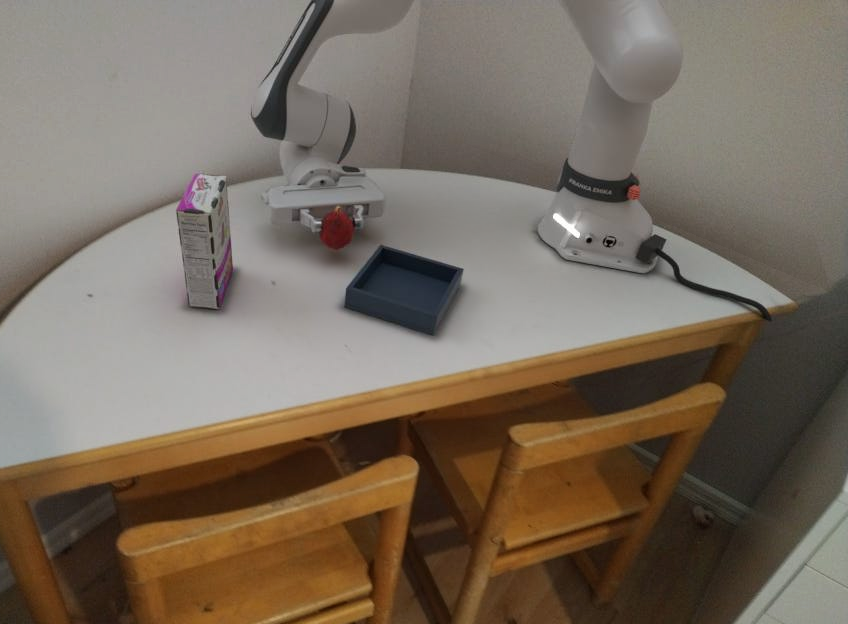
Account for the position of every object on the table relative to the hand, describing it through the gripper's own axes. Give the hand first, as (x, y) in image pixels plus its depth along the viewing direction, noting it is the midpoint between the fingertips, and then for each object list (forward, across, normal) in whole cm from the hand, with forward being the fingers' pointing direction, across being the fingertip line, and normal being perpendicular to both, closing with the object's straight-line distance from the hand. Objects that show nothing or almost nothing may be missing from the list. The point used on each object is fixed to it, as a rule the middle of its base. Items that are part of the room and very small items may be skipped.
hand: (338, 226), depth 104 cm
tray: (+12, +8, +7) cm, 16 cm away
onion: (-1, 0, +5) cm, 5 cm away
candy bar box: (+4, -22, +7) cm, 23 cm away
